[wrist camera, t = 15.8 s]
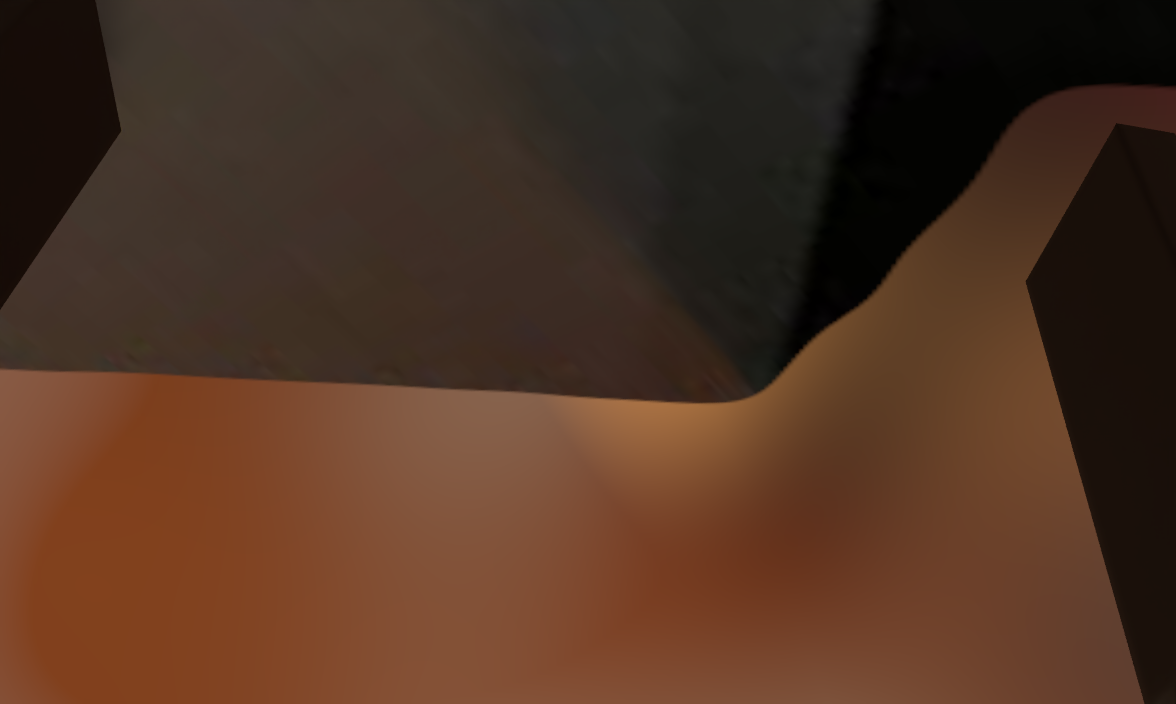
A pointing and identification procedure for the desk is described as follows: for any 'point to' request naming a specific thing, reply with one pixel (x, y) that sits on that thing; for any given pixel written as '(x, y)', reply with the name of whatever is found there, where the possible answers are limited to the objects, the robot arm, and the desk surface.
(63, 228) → the desk surface
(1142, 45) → the desk surface
